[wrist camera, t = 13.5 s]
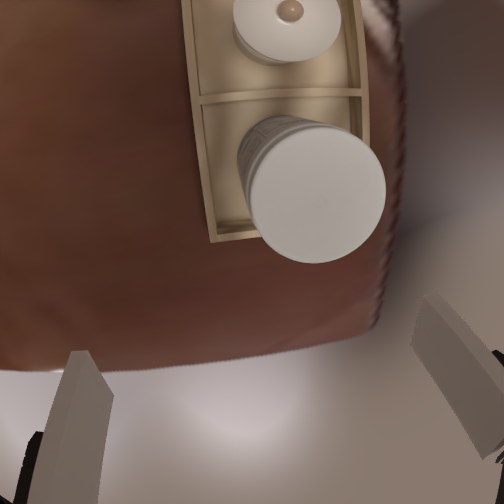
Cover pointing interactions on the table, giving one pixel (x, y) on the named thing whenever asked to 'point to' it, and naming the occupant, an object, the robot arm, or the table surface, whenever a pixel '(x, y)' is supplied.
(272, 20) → the sugar pot
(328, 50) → the caddy
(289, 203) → the supplement tub
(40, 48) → the table surface
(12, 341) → the table surface
